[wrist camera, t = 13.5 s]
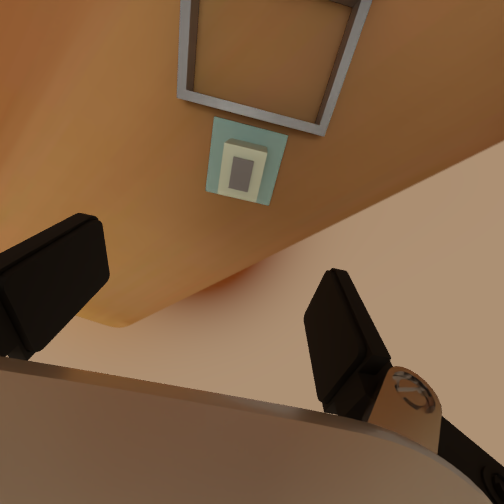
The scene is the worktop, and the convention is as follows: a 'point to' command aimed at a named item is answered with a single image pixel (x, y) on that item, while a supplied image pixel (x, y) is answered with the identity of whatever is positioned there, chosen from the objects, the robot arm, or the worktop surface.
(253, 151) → the block
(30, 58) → the worktop surface
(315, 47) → the worktop surface
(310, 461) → the robot arm
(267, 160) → the mat
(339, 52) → the grey open box
